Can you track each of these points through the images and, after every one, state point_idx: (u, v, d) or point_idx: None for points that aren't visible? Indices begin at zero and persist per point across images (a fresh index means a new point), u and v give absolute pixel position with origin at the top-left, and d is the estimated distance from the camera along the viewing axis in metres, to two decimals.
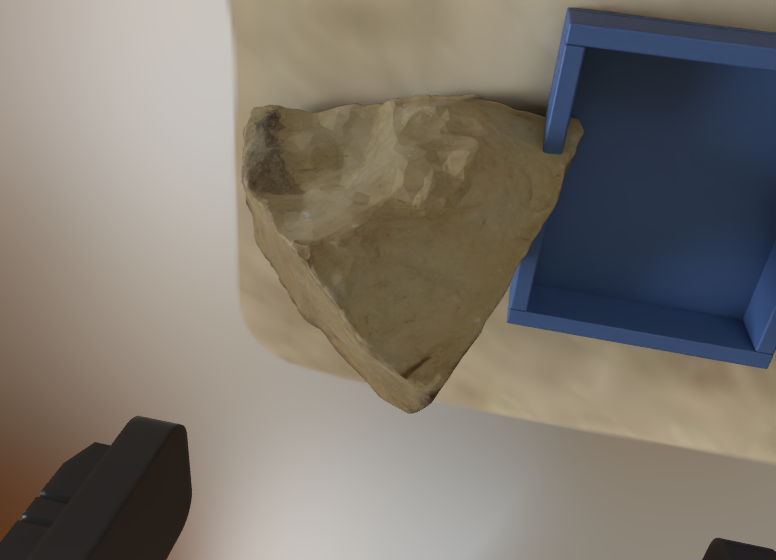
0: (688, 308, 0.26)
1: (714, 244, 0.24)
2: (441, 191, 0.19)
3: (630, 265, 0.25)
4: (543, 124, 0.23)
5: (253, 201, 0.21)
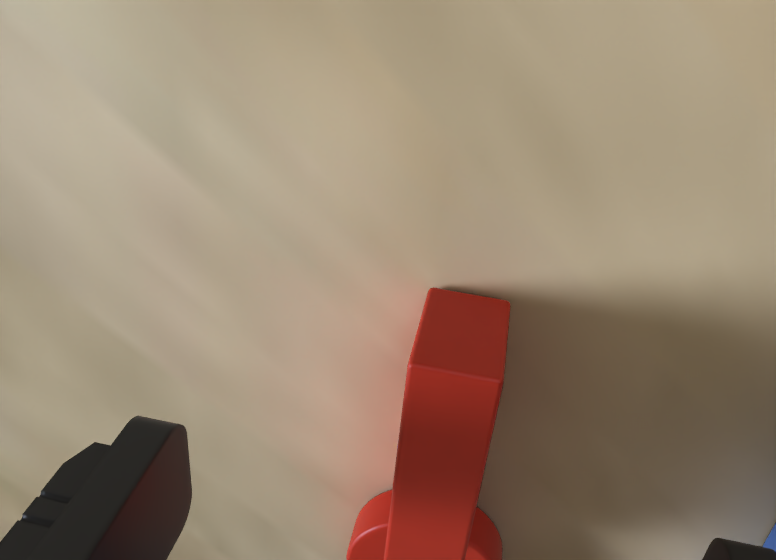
0: None
1: None
2: None
3: None
4: None
5: None
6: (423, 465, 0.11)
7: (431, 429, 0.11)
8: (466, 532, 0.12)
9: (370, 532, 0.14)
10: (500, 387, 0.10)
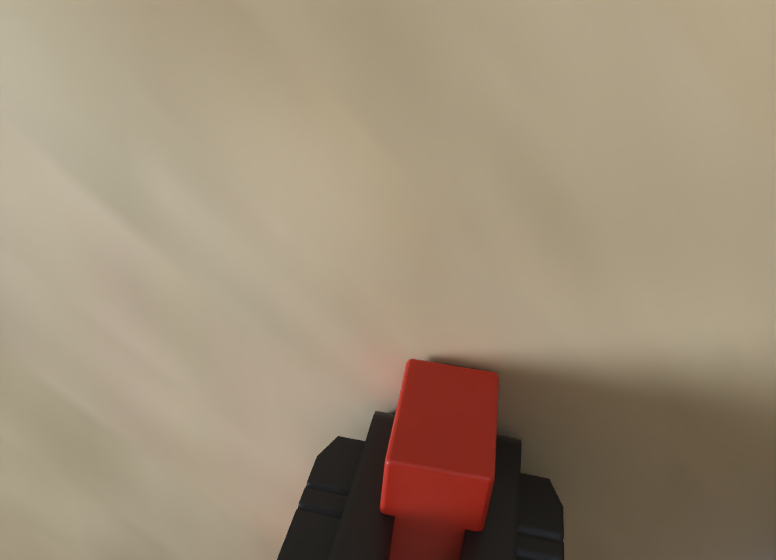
0: None
1: None
2: None
3: None
4: None
5: None
6: None
7: (413, 529, 0.10)
8: None
9: None
10: (491, 486, 0.09)
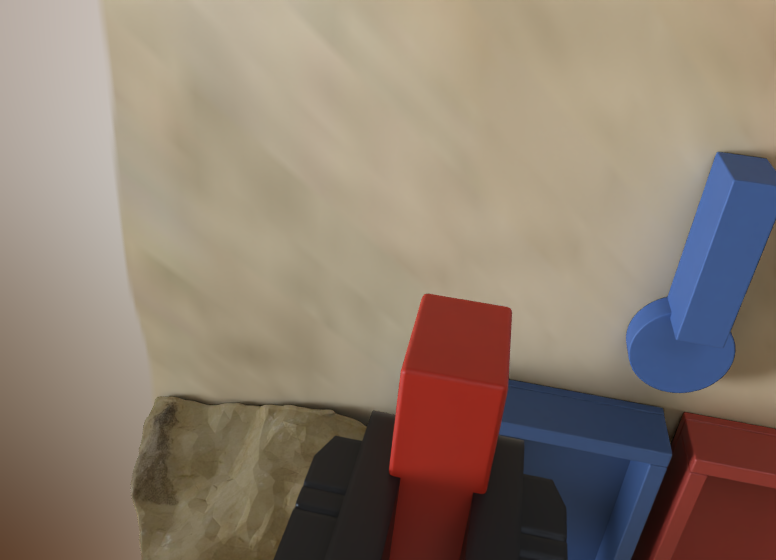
0: None
1: None
2: (274, 532, 0.24)
3: None
4: None
5: (135, 509, 0.26)
6: (417, 488, 0.10)
7: (427, 445, 0.10)
8: None
9: None
10: (504, 395, 0.09)
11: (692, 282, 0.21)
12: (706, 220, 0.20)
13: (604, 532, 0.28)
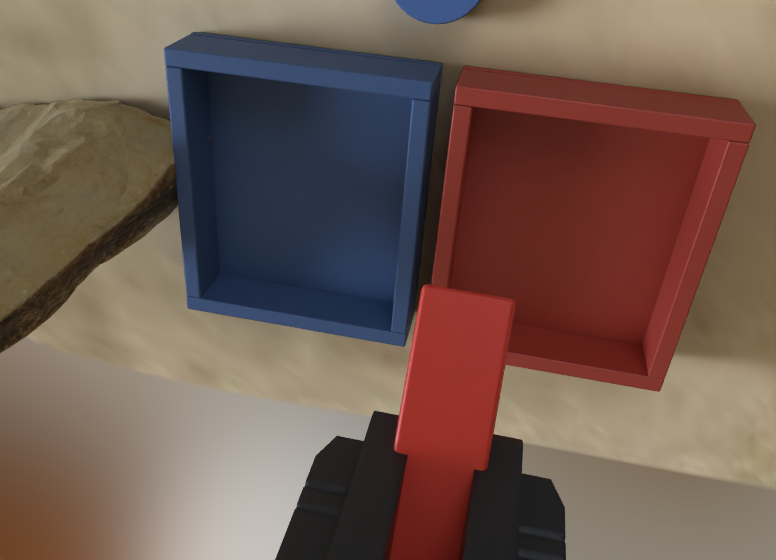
0: (355, 294, 0.29)
1: (360, 237, 0.27)
2: (23, 182, 0.23)
3: (298, 256, 0.28)
4: None
5: None
6: (429, 419, 0.10)
7: (441, 366, 0.10)
8: None
9: None
10: (513, 307, 0.10)
11: None
12: None
13: None
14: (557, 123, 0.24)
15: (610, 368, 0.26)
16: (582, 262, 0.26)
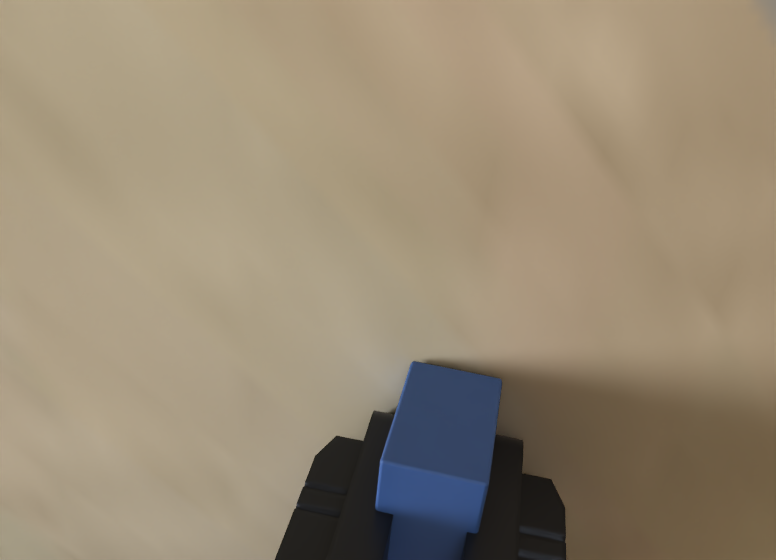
0: None
1: None
2: None
3: None
4: None
5: None
6: None
7: None
8: None
9: None
10: None
11: None
12: None
13: None
14: None
15: None
16: None
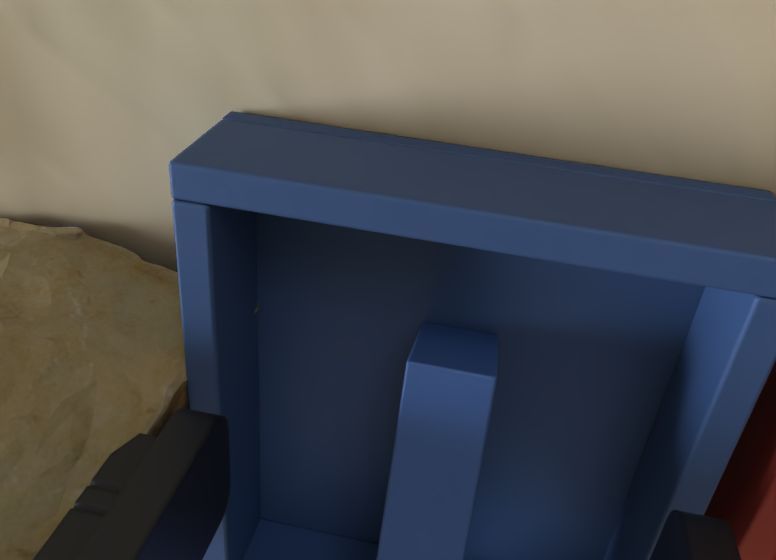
0: None
1: (533, 487, 0.15)
2: None
3: None
4: None
5: None
6: None
7: None
8: None
9: None
10: None
11: (380, 539, 0.12)
12: None
13: (630, 485, 0.14)
14: None
15: None
16: None
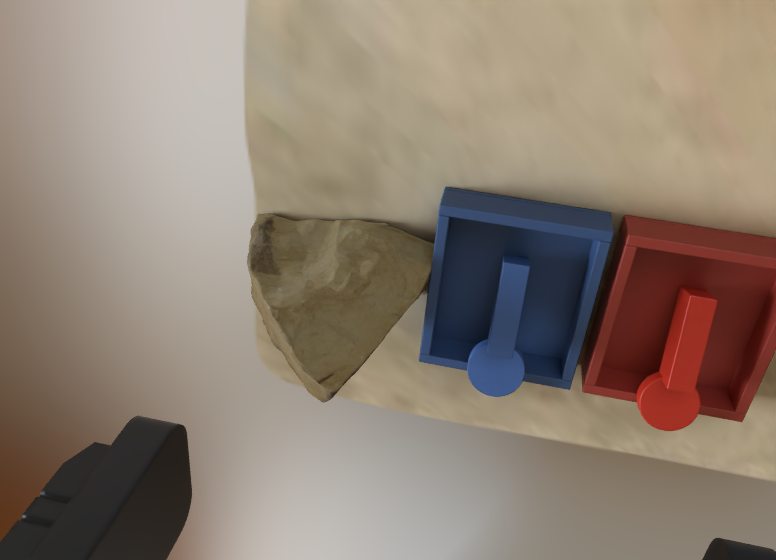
0: (530, 352, 0.42)
1: (540, 315, 0.41)
2: (352, 285, 0.36)
3: None
4: (423, 245, 0.40)
5: (252, 276, 0.38)
6: (690, 332, 0.37)
7: (694, 318, 0.36)
8: (701, 360, 0.37)
9: (653, 382, 0.39)
10: (717, 301, 0.36)
11: (492, 320, 0.38)
12: (498, 287, 0.39)
13: (573, 312, 0.40)
14: None
15: (709, 406, 0.40)
16: None
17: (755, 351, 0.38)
